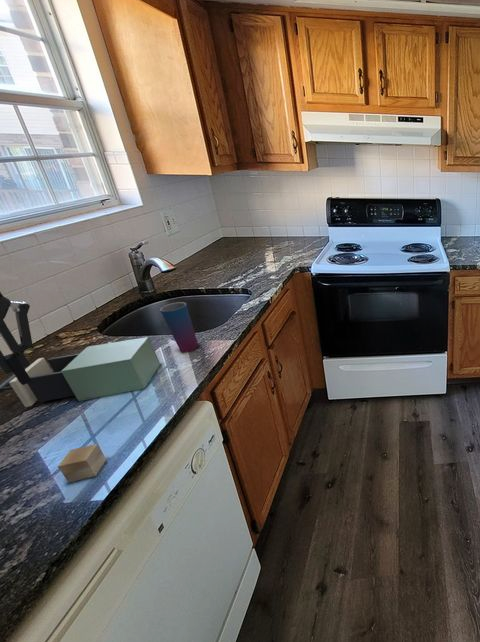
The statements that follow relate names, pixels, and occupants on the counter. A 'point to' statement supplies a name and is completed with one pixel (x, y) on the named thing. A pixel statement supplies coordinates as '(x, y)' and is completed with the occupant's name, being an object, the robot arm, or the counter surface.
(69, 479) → the block
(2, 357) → the robot arm
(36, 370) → the black and cream piece
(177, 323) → the cup
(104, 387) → the green box
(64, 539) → the counter surface
